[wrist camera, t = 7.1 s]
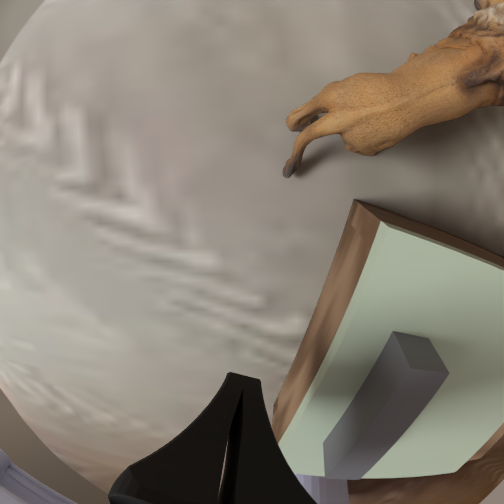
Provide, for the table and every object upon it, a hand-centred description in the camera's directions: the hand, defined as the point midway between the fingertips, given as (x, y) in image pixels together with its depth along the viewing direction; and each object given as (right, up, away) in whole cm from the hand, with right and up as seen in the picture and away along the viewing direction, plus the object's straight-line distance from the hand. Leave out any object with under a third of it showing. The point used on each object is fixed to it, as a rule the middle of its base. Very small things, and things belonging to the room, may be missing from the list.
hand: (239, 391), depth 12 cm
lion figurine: (+8, +15, +2) cm, 17 cm away
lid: (+11, -2, +2) cm, 12 cm away
